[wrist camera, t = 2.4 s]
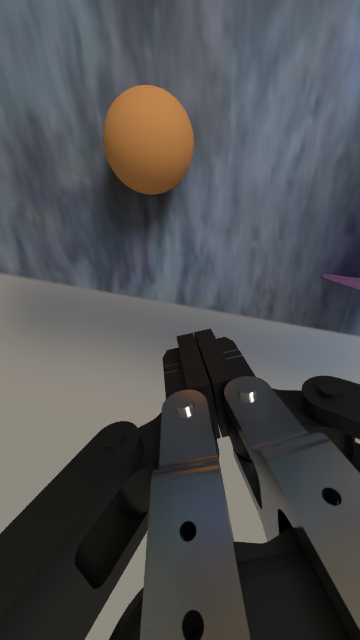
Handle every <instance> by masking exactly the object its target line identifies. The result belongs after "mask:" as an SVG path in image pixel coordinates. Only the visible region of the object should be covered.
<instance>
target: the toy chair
mask: <svg viewBox="0 0 360 640" xmlns="http://www.w3.org/2000/svg"><path fill="white" fill-rule="evenodd" d="M321 277H323V278H326V279H329V280H332V281H335V282H337V283H340V284H343V285H346V286H349V287H352V288H355V289H358V290H360V278H354V277H346V276H338V275H331V274H325V273H323V274H322V276H321Z"/></svg>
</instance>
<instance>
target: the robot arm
mask: <svg viewBox="0 0 360 640" xmlns="http://www.w3.org/2000/svg"><path fill="white" fill-rule="evenodd" d="M194 336H195V337H194ZM177 341H178V346H179V348H175V349H171V350H167V351H166V353H165V355H164V357H163V367H164V380H165V391H166V400H165V402H164V403H163V406H162V412H161V413H160V414H159V415H158V416H157V417H156V418H155V419H154V420H152V421H151V422H149V423H147V424H145V425H143V426H141V427H139V428H137V427H136V425H134V424H133V423H131V422H127V421H120V422H116V423H113V424H110V425H108V426H107V427H105V428H104V429H102V430H101V431H100V432H99V433H98V434H97V435H96V436H95V437H94V438H93V439H92V440H91V441H90V442H89V443H88V444H87V445H86V446H85V447H84V448H83V449H82V450H81V451H80V452H79V453H78V454H77V455H76V456H75V457H74V458H73V459H72V460H71V461H70V462H69V464H68V465H67V466H66V467H65V468H64V469H63V470H62V471H61V472H60V473H59V474H58V475H57V476H56V477H55V478H54V479H53V480H52V481H51V482H50V483H49V484H48V485H47V486H46V487H45V488H44V489H43V490H42V491H41V492H40V493H39V494H38V496H36V498H35V499H34V500H33V501H32V502H31V503H30V504H29V505H28V506H27V507H26V508H25V509H24V510H23V511H22V512H21V513H20V514H19V515H18V516H17V517H16V518H15V519H14V520H13V521H12V522H11V523H10V524H9V525H8V527H6V528H5V530H4V531H3V532H2V533H1V534H0V640H84V639H85V638H86V636H87V634H88V633H89V631H90V629H91V627H92V626H93V624H94V622H95V620H96V619H97V617H98V615H99V613H100V612H101V610H102V608H103V606H104V605H105V603H106V601H107V600H108V598H109V596H110V594H111V593H112V591H113V589H114V587H115V586H116V584H117V582H118V581H119V579H120V577H121V575H122V574H123V572H124V570H125V569H126V567H127V565H128V563H129V562H130V559H131V558H132V556H133V555H134V553H135V551H136V549H137V548H138V546H139V544H140V543H141V541H142V539H143V537H144V536H145V534H146V532H147V530H148V533H147V547H146V562H145V576H144V587H143V588H142V589H141V590H140V592H139V593H138V594H137V595H136V596H135V598H134V599H133V600H132V602H131V603H130V604H129V605H128V607H127V609H126V610H125V612H124V613H123V615H122V617H121V618H120V620H119V622H118V623H117V625H116V627H115V629H114V631H113V633H112V635H111V637H110V639H109V640H360V444H358V443H356V442H355V438H358V439H360V384H356V383H353V382H350V381H346V380H343V379H340V378H336V377H331V376H316V377H313V378H310V379H308V380H307V381H305V382H304V384H303V386H302V391H297V390H296V391H294V390H293V391H292V390H290V391H289V390H288V391H287V390H276V389H273V388H271V387H270V386H269V385H268V383H267V382H265V381H264V380H262V379H260V378H257V377H256V376H255V375H254V373H253V372H252V370H251V369H250V367H249V365H248V364H247V362H246V361H245V359H244V357H243V356H242V354H241V352H240V351H239V350H238V348H237V346H236V344H235V343H234V342H233V341H232V340H230V339H228V338H226V337H223V338H218V339H216V338H215V336H214V334H213V332H212V330H211V329H207V330H202V331H198V332H194V335H193V333H190V334H185V335H181V336H177ZM218 425H219V427H218ZM219 428H220V431H221V435H222V437H226V436H229V437H230V439H231V442H232V445H233V451H234V457H235V460H236V462H237V464H238V467H239V469H240V471H241V474H242V476H243V478H244V481H245V483H246V485H247V488H248V490H249V492H250V495H251V497H252V499H253V502H254V504H255V506H256V509H257V511H258V513H259V516H260V519H261V521H262V524H263V528H264V531H265V535H266V538H267V541H268V542H266V543H263V544H258V543H245V542H234V538H233V533H232V528H231V523H230V517H229V512H228V507H227V502H226V496H225V491H224V485H223V480H222V475H221V470H220V464H219V449H218V443H217V438H220V433H219Z"/></svg>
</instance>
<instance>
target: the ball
mask: <svg viewBox="0 0 360 640" xmlns="http://www.w3.org/2000/svg"><path fill="white" fill-rule="evenodd" d="M103 142H104V149H105V154H106V157H107V160H108V162H109V164H110V166H111V168H112V170H113V171H114V173H115V174H116V176H117V177H118V178H119V179H120V180H121V181H122V182H123V183H124V184H125V185H126V186H127V187H129V188H131V189H132V190H134V191H137V192H139V193H143V194H149V195H155V194H161V193H164V192H166V191H168V190H170V189H172V188H173V187H175V186H176V185H177V184H178V183H179V182H180V181H181V180H182V179H183V177H184V176H185V174H186V173H187V171H188V169H189V166H190V163H191V160H192V156H193V149H194V139H193V132H192V127H191V123H190V120H189V118H188V115H187V113H186V111H185V110H184V108H183V106H182V105H181V104H180V103H179V101H178V100H177V99H176V98H175V97H174V96H173V95H171V94H170V93H169V92H167V91H165V90H164V89H161V88H159V87H156V86H151V85H139V86H135V87H132V88H130V89H128V90H126V91H124V92H123V93H122V94H120V95H119V96H118V97H117V98H116V99H115V101H114V102H113V103H112V105H111V107H110V109H109V110H108V113H107V116H106V119H105V123H104V131H103Z"/></svg>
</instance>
